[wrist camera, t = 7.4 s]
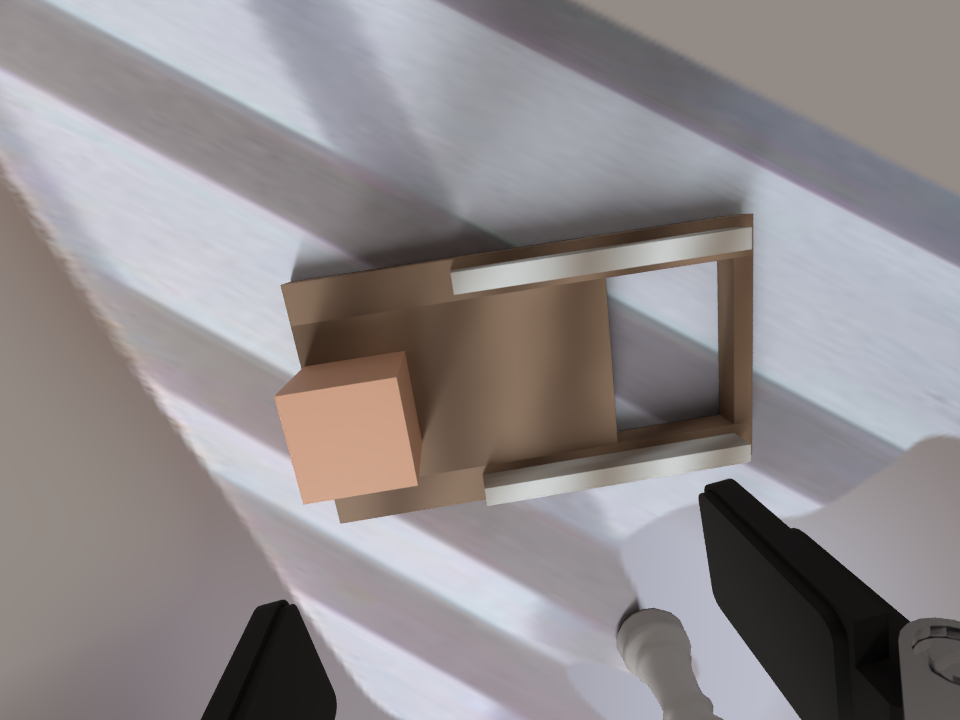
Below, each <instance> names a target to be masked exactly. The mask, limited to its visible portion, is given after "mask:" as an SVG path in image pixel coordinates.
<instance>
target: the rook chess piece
mask: <svg viewBox="0 0 960 720" xmlns="http://www.w3.org/2000/svg"><path fill="white" fill-rule="evenodd" d="M617 649H618V651H619V653H620V655H621V657H622V658H623V660H624V662H625V664H626V666H627V668H628V670H629V671H630V672H631V673H632V674H634V675H635V676H636V677H638V678H639V679H640V680H641V681H642V682H643V683H645V684H646V685H647V686H648V687H649V688H650V689H651V691H652V693H653V694H654V696H655V697H656V699H657V701H658V702H659V704H660V706H661V707H662V710H663V712H664V713H663V720H723V719H722V718H720V717H717V716H716V715H714V714H713V704H712V702H711V700H710V699H709V698H708V697H706V696H705V695H704V694H703V693H702V691H701V690H700V688H699V686H698V683H697V681H696V678H695V676H694V673H693V671H692V667H691V659H692V657H691V655H690V653H691V645H690V641H689V638H688V636H687V634H686V632H685V631H684V628H683V626H682V624H681V622H680V620H679V619H678V618H677V617H676V616H674V615H673V614H672V613H670V612H667V611H664V610H660V609H655V608H650V609H642V610H640V611H638V612H635V613H633V614H632V615H631V616H629V617H628V618H627V619H626V620H625V621H624V623H623V625H622V627H621V629H620V631H619V633H618V635H617Z"/></svg>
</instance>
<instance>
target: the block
mask: <svg viewBox="0 0 960 720" xmlns="http://www.w3.org/2000/svg"><path fill="white" fill-rule="evenodd" d="M274 398H275V401H276V405H277V409H278V412H279V416H280V420H281V424H282V427H283V431H284V435H285V438H286V442H287V446H288V449H289V453H290V457H291V460H292V464H293V468H294V471H295V475H296V479H297V483H298V486H299V490H300V494H301V497H302V501H303V505H304V504H310V503H316V502H322V501H328V500H334V499H340V498H346V497H352V496H358V495H364V494H370V493H376V492H382V491H388V490H394V489H400V488H406V487H412V486H418V481H419V470H420V460H421V450H422V438H421V433H420V428H419V423H418V417H417V412H416V407H415V402H414V396H413V391H412V386H411V381H410V375H409V370H408V365H407V360H406V354H405V351H401V352H394V353H388V354H381V355H375V356H369V357H362V358H356V359H349V360H343V361H337V362H330V363H324V364H317V365H311V366H305V367H303V368H302V369H301V370H300V371H299V372H298V373H297V374H296V375H295V376H294V377H293V378H292V379H291V380H290V381H289V382H288V383H287V384H286V385H285V386H284V387H283V388H282V389H281V390H280V391H279V392H278V393H277V394H276V395H275V396H274Z"/></svg>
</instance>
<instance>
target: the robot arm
mask: <svg viewBox="0 0 960 720" xmlns="http://www.w3.org/2000/svg"><path fill="white" fill-rule="evenodd" d="M704 492H705V493H701V494H699V505H700V511H701V519H702V525H703V532H704V538H705V545H706V551H707V558H708V565H709V571H710V578H711V584H712V590H713V594H714V597H715V599H716V602H717V604H718V606H719V607H720V609H721V610H722V612H723V613H724V614H725V616H726V617H727V618H728V620H729V621H730V623H731V624H732V625H733V627H734V628H735V629H736V630H737V632H738V633H739V635H740V636H741V638H742V639H743V640H744V641H745V643H746V644H747V646H748V647H749V649H750V650H751V651H752V653H753V654H754V655H755V657H756V658H757V659H758V661H759V662H760V664H761V665H762V666H763V668H764V669H765V670H766V672H767V673H768V674H769V676H770V677H771V679H772V680H773V681H774V682H775V684H776V685H777V687H778V688H779V690H780V691H781V692H782V694H783V695H784V696H785V698H786V699H787V701H788V702H789V703H790V705H791V706H792V707H793V709H794V710H795V711H796V713H797V714H798V716H799V717H800V718H801V720H960V622H959V621H956V620H950V619H942V618H924V619H918V620H915V621H912V622H910V621H909V620H907V619H906V618H905V617H904V616H903V615H902V614H900V613H899V612H898V611H897V610H896V609H894V608H893V607H892V606H891V605H890V604H888V603H887V602H886V601H885V600H884V599H883V598H881V597H880V596H879V595H878V594H877V593H875V592H874V591H873V590H872V589H871V588H869V587H868V586H867V585H866V584H865V583H864V582H862V581H861V580H860V579H859V578H858V577H856V576H855V575H854V574H853V573H852V572H850V571H849V570H848V569H847V568H846V567H845V566H843V565H842V564H841V563H840V562H839V561H837V560H836V559H835V558H834V557H833V556H831V555H830V554H829V553H828V552H827V551H826V550H824V549H823V548H822V547H821V546H820V545H818V544H817V543H816V542H815V541H814V540H812V539H811V538H810V537H809V536H808V535H806V534H805V533H804V532H802V531H801V530H799V529H796V528H791V529H790V528H789V527H788V526H787V525H786V524H784V523H783V522H782V521H781V520H780V519H779V518H778V517H777V516H775V515H774V514H773V513H772V512H771V511H770V510H768V509H767V508H766V507H765V506H764V505H763V504H762V503H760V502H759V501H758V500H757V499H756V498H755V497H753V496H752V495H751V494H750V493H749V492H748V491H746V490H745V489H744V488H743V487H742V486H741V485H740V484H738V483H737V482H736V481H735V480H733V479H726V480H723V481H719V482H715V483H712V484H708V485H706V486H705V489H704ZM336 709H337V703H336V696H335V693H334V690H333V688H332V685H331V683H330V681H329V679H328V677H327V674H326V672H325V669H324V667H323V665H322V663H321V660H320V658H319V656H318V654H317V651H316V649H315V647H314V644H313V642H312V640H311V637H310V635H309V633H308V631H307V628H306V626H305V624H304V622H303V619H302V617H301V615H300V612H299V610H298V608H297V606H296V605H295V604H291V605H289V603H288V602H287V601H286V600H279V601H276V602H272V603H268V604H264V605H261V606H258V607H257V608H256V609H255V611H254V612H253V614H252V616H251V619H250V620H249V622H248V625H247V627H246V629H245V631H244V633H243V635H242V637H241V639H240V641H239V643H238V645H237V647H236V649H235V651H234V653H233V655H232V657H231V659H230V661H229V663H228V665H227V667H226V669H225V671H224V673H223V675H222V677H221V679H220V681H219V683H218V685H217V688H216V690H215V692H214V694H213V696H212V698H211V700H210V702H209V704H208V706H207V708H206V710H205V712H204V714H203V716H202V718H201V720H335V715H336Z"/></svg>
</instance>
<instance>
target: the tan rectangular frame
mask: <svg viewBox="0 0 960 720" xmlns="http://www.w3.org/2000/svg"><path fill="white" fill-rule="evenodd" d="M712 261H717V268H718V341H719V415H713V416H707V417H701V418H695V419H689V420H683V421H677V422H671V423H665V424H659V425H653V426H646V427H640V428H634V429H628V430H622V431H617V426H616V412H615V399H614V386H613V372H612V359H611V345H610V332H609V319H608V305H607V292H606V278H608V277H614V276H621V275H627V274H634V273H640V272H647V271H653V270H660V269H666V268H673V267H679V266H686V265H692V264H699V263H705V262H712ZM281 289H282V293H283V297H284V301H285V305H286V309H287V313H288V317H289V321H290V325H291V329H292V333H293V337H294V341H295V345H296V349H297V353H298V357H299V360H300V364H301V368H303V367H305V366H311V365H317V364H324V363H330V362H337V361H343V360H349V359H356V358H362V357H369V356H375V355H381V354H388V353H394V352H401V351H405V354H406V360H407V365H408V370H409V375H410V381H411V386H412V391H413V396H414V402H415V407H416V412H417V417H418V423H419V428H420V433H421V438H422V450H421V460H420V470H419V481H418V486H412V487H406V488H400V489H394V490H388V491H382V492H376V493H370V494H364V495H358V496H352V497H346V498H340V499H334V500H335V504H336V508H337V511H338V515H339V519H340V523H347V522H353V521H359V520H365V519H371V518H377V517H383V516H389V515H395V514H401V513H407V512H413V511H419V510H425V509H431V508H436V507H442V506H448V505H454V504H460V503H466V502H472V501H478V500H484V499H486V501H487V506H491V505H497V504H503V503H509V502H515V501H521V500H527V499H532V498H538V497H544V496H550V495H556V494H562V493H568V492H574V491H580V490H586V489H592V488H598V487H604V486H610V485H616V484H622V483H628V482H634V481H640V480H646V479H651V478H657V477H663V476H669V475H675V474H681V473H687V472H693V471H699V470H705V469H711V468H717V467H723V466H729V465H735V464H741V463H747V462H751V455H752V359H753V214H735V215H729V216H722V217H715V218H709V219H702V220H695V221H689V222H682V223H676V224H669V225H662V226H656V227H649V228H643V229H636V230H629V231H623V232H616V233H610V234H603V235H596V236H590V237H583V238H576V239H570V240H563V241H557V242H550V243H543V244H537V245H530V246H524V247H517V248H510V249H504V250H497V251H490V252H484V253H477V254H471V255H464V256H457V257H451V258H444V259H438V260H431V261H424V262H418V263H411V264H405V265H398V266H391V267H385V268H378V269H371V270H365V271H358V272H352V273H345V274H338V275H332V276H325V277H319V278H312V279H305V280H299V281H292V282H288V283H285V284H282V285H281Z"/></svg>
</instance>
